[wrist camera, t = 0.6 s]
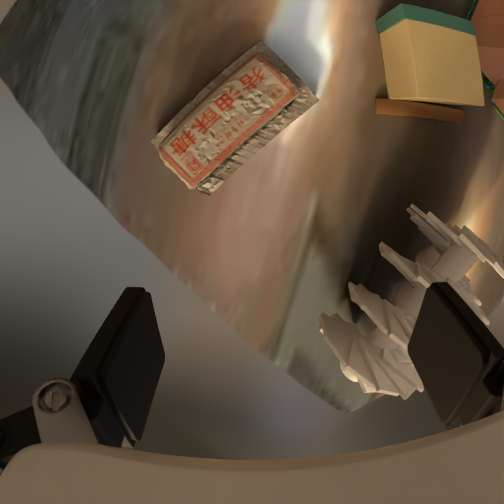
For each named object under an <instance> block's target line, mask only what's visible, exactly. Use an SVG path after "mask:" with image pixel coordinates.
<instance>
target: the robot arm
mask: <svg viewBox="0 0 504 504" xmlns="http://www.w3.org/2000/svg"><path fill="white" fill-rule="evenodd" d="M407 351H408V355H409V357H410V359H411V361H412V363H413V365H414V367H415V369H416V371H417V373H418V375H419V377H420V379H421V381H422V383H423V385H424V387H425V389H426V391H427V393H428V396H429V398H430V400H431V402H432V404H433V406H434V409H435V411H436V413H437V415H438V418H439V420H440V422H441V423H444V424H445V427H446V429H447V431H445V432H442V433H439V434H436V435H432V436H429V437H425V438H422V439H418V440H414V441H410V442H406V443H401V444H397V445H392V446H388V447H383V448H378V449H373V450H367V451H362V452H355V453H348V454H341V455H333V456H324V457H314V458H302V459H285V460H220V459H204V458H192V457H182V456H172V455H163V454H156V453H149V452H142V451H136V450H130V449H124V448H121V446H123V447H128V448H133V449H134V445H135V442H136V440H137V441H139V440H140V439H141V437H142V434H143V431H144V428H145V424H146V420H147V417H148V413H149V410H150V407H151V404H152V400H153V397H154V394H155V390H156V387H157V384H158V381H159V378H160V374H161V371H162V368H163V365H164V362H165V353H164V348H163V345H162V341H161V337H160V333H159V329H158V324H157V320H156V316H155V312H154V307H153V303H152V298H151V294H150V293H149V292H146V291H145V289H144V288H142V287H127V288H126V289H125V290H124V291H123V293H122V294H121V296H120V298H119V299H118V301H117V302H116V304H115V305H114V307H113V309H112V310H111V312H110V313H109V315H108V316H107V318H106V319H105V321H104V323H103V324H102V326H101V328H100V329H99V331H98V332H97V334H96V336H95V337H94V339H93V340H92V342H91V344H90V345H89V347H88V349H87V351H86V353H85V354H84V356H83V358H82V359H81V361H80V363H79V364H78V366H77V368H76V370H75V371H74V373H73V375H72V377H71V379H70V380H68V379H65V378H53V379H49V380H47V381H45V382H43V383H42V384H41V385H40V386H39V387H38V388H37V389H36V391H35V392H34V396H33V406H31V407H29V408H26V409H24V410H22V411H20V412H17V413H15V414H12V415H10V416H8V417H5V418H3V419H0V504H504V362H503V360H504V349H503V347H502V346H501V345H500V343H499V342H498V341H497V340H496V338H495V337H494V336H493V335H492V333H491V332H490V331H489V330H488V328H487V327H486V326H485V325H484V323H483V322H482V321H481V320H480V319H479V317H478V316H477V315H476V314H475V313H474V311H473V310H472V309H471V308H470V307H469V306H468V304H467V303H466V302H465V301H464V300H463V299H462V298H461V296H460V295H459V294H458V293H457V292H456V291H455V290H454V289H453V288H452V286H451V285H450V284H449V283H447V282H433V283H431V285H430V287H428V288H427V289H426V292H425V295H424V298H423V302H422V305H421V308H420V311H419V314H418V317H417V320H416V323H415V326H414V329H413V332H412V335H411V338H410V341H409V343H408V347H407ZM461 423H462V425H463V426H461V427H459V426H460V425H461ZM457 427H458V428H457ZM454 428H455V429H454ZM451 429H452V430H451ZM448 430H449V431H448Z"/></svg>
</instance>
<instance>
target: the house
mask: <svg viewBox="0 0 504 504" xmlns="http://www.w3.org/2000/svg"><path fill="white" fill-rule="evenodd" d="M475 1H476V0H474V2H473V4H474V3H477V2H478V3H477V4H475V5H476V7H473V8H475V10H472V11H473V12H474V13H473V12H471V9H473V8H472V7H471V9H470V11H469V14H468V16H469V17H468V16H467V18H466V20H467V19H468V18H471V17H470V15H472V18H471V19H470V20H469V21H472V22H473V25H474V29H475V34H476V36H475V37H476V43H477V48H478V54H479V60H480V67H481V71H482V72H481V73H484V74H485V75H486V76H487V77H486V76H485V75H484V76H485V77H486V78H487V79H483V80H489V82H483V83H484V84H485V83H491V84H485V85H486V86H487V87H488V88H489V87H495V89H494V90H490V91H491V92H492V91H494V92H492V93H493V94H492V96H491V100H492V101H493V102H494V103H493V102H492V105H493V106H494V105H496V106H497V107H498V108H497V109H499V110H500V111H498V110H497V109H496V108H495V109H496V110H497V111H498V112H502V114H503V116H504V0H479V1H477V2H475ZM473 4H472V6H475V5H473ZM470 13H471V14H470ZM483 80H482V81H483ZM490 81H491V82H490ZM492 83H493V84H492ZM489 89H490V88H489ZM494 107H495V106H494ZM499 114H500V113H499ZM500 115H501V114H500ZM501 116H502V115H501ZM503 116H502V117H503ZM503 119H504V118H503Z"/></svg>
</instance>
